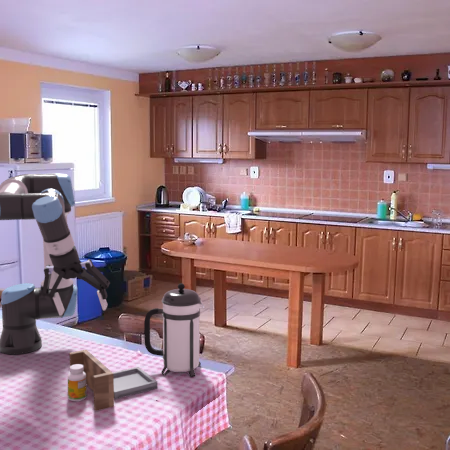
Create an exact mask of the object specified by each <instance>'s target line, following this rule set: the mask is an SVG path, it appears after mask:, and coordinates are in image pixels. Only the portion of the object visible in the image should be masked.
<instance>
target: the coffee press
mask: <svg viewBox="0 0 450 450" xmlns="http://www.w3.org/2000/svg"><path fill="white" fill-rule="evenodd" d="M185 287H186V286H185V284H184V283H183V282H181V283H178V284H177V288H175V289H171V290H168V291H166V292H165V293H164V294H163V297H162V298H161V303H162V308H158V307H157V308H151V309H150V310H149V311H147V313H146V315H145V317H144V325H143V326H144V327H143V329H144V330H143V332H144V337H143V338H144V347H145V350H147V352H148V353H149V354H151V355H153V356H161V357H162V359H163V368H162V370H161V372H160V374H161V375H162V376H168V374H169V372H175V373H187V374H188V375H189V378H194V377H196V371H195V370H196V369H197V367H200V366H201V363H202V362H201V361H200V316H201V309H205V308H206V307H205V304H204V303H203V301H202V300H201V296H200V295H199V293H198V292H196V291H195V290H192V289H189V288H185ZM159 314H160V315H162V316H161V317H162V333H163V334H162V338H163V341H162V343H163V344H162V345H163V347H162V349H155V348H154V347H153V346H152V345H151V318H152V317H153V316H155V315H159Z"/></svg>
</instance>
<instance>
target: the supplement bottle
mask: <svg viewBox="0 0 450 450" xmlns="http://www.w3.org/2000/svg"><path fill="white" fill-rule="evenodd" d="M83 371H84V367H83V365H81V364H75V365H72V366H70V365H69V373H68V375H67V398H68V400H69V401H72V402H81V401H83V400H85V399H86V398H87V396H88V394H87V393H88V391H87V387H88V386H87V384H86V373H85V372H83Z"/></svg>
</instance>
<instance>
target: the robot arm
mask: <svg viewBox="0 0 450 450" xmlns="http://www.w3.org/2000/svg"><path fill="white" fill-rule="evenodd" d="M75 201H76V200H75V196H74V190H73V183H72V178H71V176H70V175H69V174H66V173H24V174H19V175H15V176H12V177H9V178H7V179H6V180H4V181H2V182H1V184H0V221H14V220H15V221H16V220H17V221H18V220H22V221H23V220H35V221H36V223H37V226H38V229H39V231H40V233H41V237H42V240H43V242H42V243H43V244H42V245H43V268H44V269H43V273H44V279H43V280H42V281H41V282H40V287H36V286H35V284H34V283H29V282H26V283H19V284H14V285H12V286H8V287H6V288H5V289H4V290H2V292H1V298H0V299H1V301H0V304H1V314H2V315H1V319H2V320H1V321H2V323H1V324H2V331H1V333H0V353H2V354H6V355H23V354H29V353H32V352H34V351H37V350H39V349H40V348H42V345H43V343H42V341H43V340H42V337H41V334H40V332H39V329H38V327H37V320H44V319H45V320H46V319H58V318H59V319H63V318H69V317H72V316H73V315H74V314H75V313H76V308H77V300H78V285H75V284H74V281H73V279H79V280H82V281H84V282H85V283H87V284H88V285H90V286H91V287H93V288H95V289H96V290H97V291H96V293H97V296H98V300H99V303H100V305H101V309H102V311H106V310H107V308H108V302H107V298H108V293H107V289H109V286H110V284H111V281H110V280H109V279H108V278H107V277H106V276H105V275H104V274H103V273H102V272H101V271H100V269H98V268H97V266H95V265H94V263H93V260H92V259H90V258H88V259H87V260H85V261H81V260H80V255H79V253H78V250H77V248H76V246H75V241H74V239H73V236H72V233H71V230H70V228H69V225H68V215H69V214H70V213H71V212H72V207H75V205H76V202H75Z"/></svg>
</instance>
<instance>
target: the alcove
mask: <svg viewBox="0 0 450 450" xmlns="http://www.w3.org/2000/svg"><path fill="white" fill-rule="evenodd" d="M75 364H81V365H83V367H84V371H83V372H85V373H86V386H87V387H88V388H89V389H90V390H91V391H92V392H93V410H94V411H95V412H98V411H102V410H106V409H109V408H114V407H115V399H114V376H113V372H112V371H111V370H110V369H109V368H108V367H107V366H106V365H105V364H103V362H101V361H100V360H99V358H98V357H97V358H96V356H95V355H93V353H91V352H90V351H89V350H88V349H83V350H77V351H72V352H69V367H70V366H72V365H75Z"/></svg>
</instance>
